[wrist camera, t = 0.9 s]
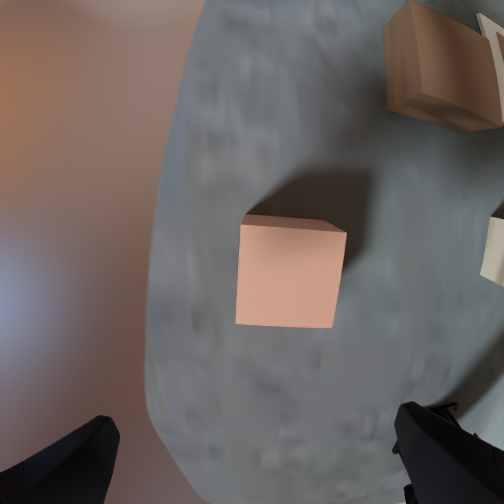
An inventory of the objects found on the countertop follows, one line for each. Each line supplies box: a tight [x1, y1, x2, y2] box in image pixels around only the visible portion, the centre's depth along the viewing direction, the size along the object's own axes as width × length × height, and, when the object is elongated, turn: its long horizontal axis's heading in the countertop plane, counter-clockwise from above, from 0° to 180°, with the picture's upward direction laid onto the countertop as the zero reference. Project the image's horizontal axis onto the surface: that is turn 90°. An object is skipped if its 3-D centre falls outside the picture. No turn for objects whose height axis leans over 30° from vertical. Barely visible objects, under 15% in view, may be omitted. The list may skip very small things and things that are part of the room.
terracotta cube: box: [236, 214, 347, 328], centre depth 16 cm, size 5×5×5 cm
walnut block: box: [382, 0, 503, 134], centre depth 13 cm, size 7×7×5 cm
